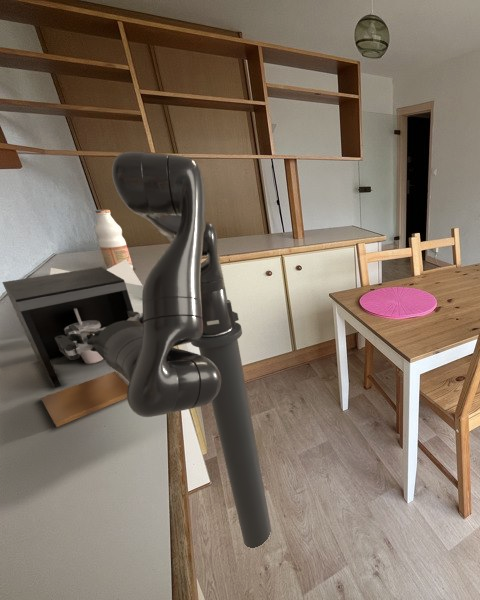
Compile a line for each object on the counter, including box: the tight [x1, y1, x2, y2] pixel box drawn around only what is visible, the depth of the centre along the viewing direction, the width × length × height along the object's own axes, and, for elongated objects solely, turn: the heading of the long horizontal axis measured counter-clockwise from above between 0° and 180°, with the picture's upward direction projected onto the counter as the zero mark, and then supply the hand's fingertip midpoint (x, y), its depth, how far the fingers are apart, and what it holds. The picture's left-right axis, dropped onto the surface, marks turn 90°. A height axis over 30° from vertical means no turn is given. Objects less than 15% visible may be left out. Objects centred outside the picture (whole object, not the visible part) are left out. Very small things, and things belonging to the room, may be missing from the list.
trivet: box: [40, 370, 129, 428], centre depth 66 cm, size 12×12×1 cm
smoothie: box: [64, 308, 104, 364], centre depth 77 cm, size 6×6×14 cm
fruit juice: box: [94, 209, 134, 270], centre depth 144 cm, size 9×9×28 cm
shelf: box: [2, 266, 134, 389], centre depth 76 cm, size 17×17×21 cm
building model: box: [49, 260, 144, 314], centre depth 113 cm, size 45×22×10 cm, turn 44°
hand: (102, 322), depth 61 cm, fingers open, 8 cm apart
